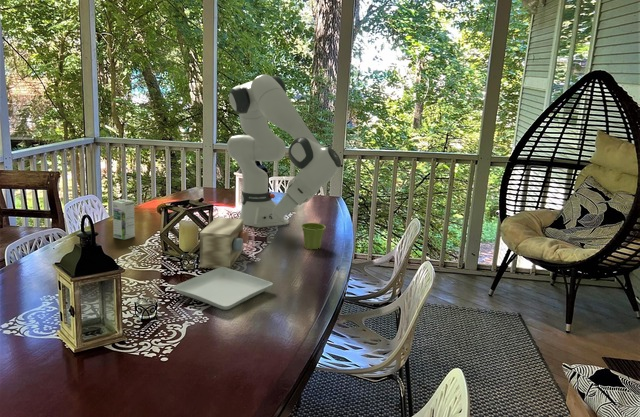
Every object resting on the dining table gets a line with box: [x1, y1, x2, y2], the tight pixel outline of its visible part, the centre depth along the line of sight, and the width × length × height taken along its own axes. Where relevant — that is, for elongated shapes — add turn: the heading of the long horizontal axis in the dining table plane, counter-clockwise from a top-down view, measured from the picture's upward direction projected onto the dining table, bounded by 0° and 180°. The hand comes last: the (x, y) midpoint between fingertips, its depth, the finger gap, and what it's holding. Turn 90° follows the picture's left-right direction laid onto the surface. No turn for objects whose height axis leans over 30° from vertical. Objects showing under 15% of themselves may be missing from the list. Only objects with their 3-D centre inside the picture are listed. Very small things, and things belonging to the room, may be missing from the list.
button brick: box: [238, 230, 249, 244], centre depth 174 cm, size 7×4×4 cm, turn 86°
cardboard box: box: [199, 217, 244, 269], centre depth 170 cm, size 10×20×12 cm, turn 176°
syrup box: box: [112, 198, 136, 241], centre depth 187 cm, size 6×6×14 cm
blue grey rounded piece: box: [232, 238, 244, 252], centre depth 165 cm, size 7×4×4 cm, turn 86°
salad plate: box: [172, 267, 274, 311], centre depth 142 cm, size 21×21×3 cm
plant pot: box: [301, 222, 327, 250], centre depth 188 cm, size 9×9×9 cm
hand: (273, 216), depth 164 cm, fingers closed
